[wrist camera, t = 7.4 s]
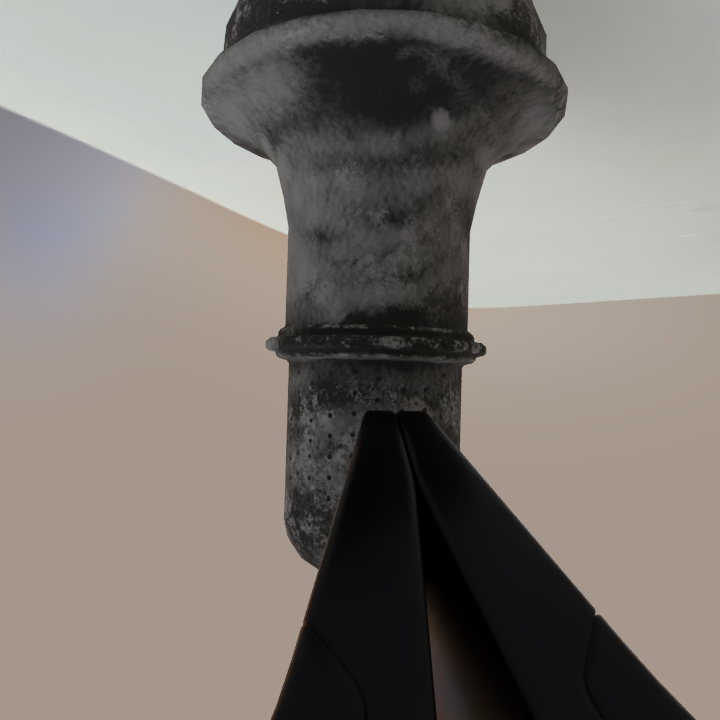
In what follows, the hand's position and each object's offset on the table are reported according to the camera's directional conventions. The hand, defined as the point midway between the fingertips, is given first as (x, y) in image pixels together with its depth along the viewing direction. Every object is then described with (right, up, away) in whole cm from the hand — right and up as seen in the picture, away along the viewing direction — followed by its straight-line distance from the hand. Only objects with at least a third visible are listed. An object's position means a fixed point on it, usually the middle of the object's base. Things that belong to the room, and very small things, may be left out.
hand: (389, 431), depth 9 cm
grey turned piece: (0, +9, +2) cm, 9 cm away
